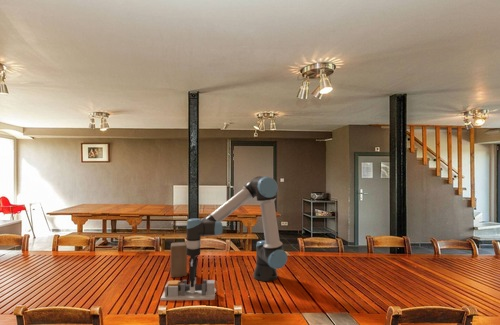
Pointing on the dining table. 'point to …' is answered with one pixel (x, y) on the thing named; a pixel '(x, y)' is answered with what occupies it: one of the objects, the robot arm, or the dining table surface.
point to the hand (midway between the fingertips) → (192, 290)
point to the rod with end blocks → (196, 286)
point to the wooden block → (178, 259)
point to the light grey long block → (186, 293)
